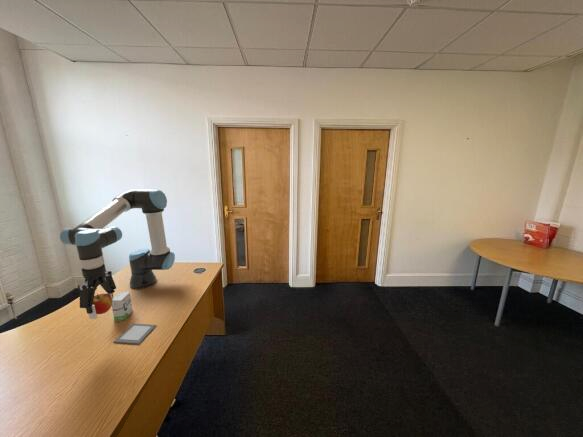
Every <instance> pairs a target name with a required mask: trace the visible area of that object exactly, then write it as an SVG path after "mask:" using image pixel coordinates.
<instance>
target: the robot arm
mask: <svg viewBox="0 0 583 437" xmlns="http://www.w3.org/2000/svg"><path fill="white" fill-rule="evenodd" d="M167 204H168V198H167V196H166V193H164V192H163V191H162V190H160V189H154V188H153V189H150V188H149V189H148V188H147V189H146V188H145V189H142V188H141V189H140V188H139V189H138V188H136V189H135V188H133V189H130V190H127V191H124V192H123V193H120V194H118V195H116V196H115V197H113V199H112V200H111V202H110V203H108V204H107V205H106V206H105V207H103V208H101V209H100V210H98V211H97V212H95V213H94V214H92V216H90V217H89V218H87V219H85V220H84V221H83V222H81V223H80V224H78V225H77V226H76V227H67V228H64V229H63V230H61V232H60V233H59V239H60V242H61V243H63V244H65V245H71V246H76V250H77V254H78V259H79V260H78V261H79V264H80V267H81V273H82V277H83V278H84V283H82V284H79V285H77V288H78V292H79V295H78V296H79V308H80V309H85V310H86V314H88V318H89V319H90V320H97V319H98V314H96V310H95V305H92V304H93V299H94V296H95V295H96V290H97V288H98V287H99V286H100V287H101V288H102V289H103V290H104V291H105V293H104V294H108V295H110V296H111V298H112V306H114V302H113V298H114V293H115V290H116V289H117V286H116V282H115V281H114V277H113V274H112V271H111V270H107V269H106V265H105V259H104V253H103V249H104V248H106V247H108V246H110V245H113V244H115V243H116V242H118V241H120V240H121V239H122V237H123V231H122V230H121V229H120V228H119V227H117V226H108V225H109V224H111V222H113V221H114V220H116V219H117V218H118V217H120V216H121V215H122V214H123V213H125V212H129V211H130V210H131V209H133V210H134V209H141V213H142V214H143V215H145V217H146V224H147V229H148V234H149V236H148V237H149V241H150V246H151V250H150V249H149V248H142V249H138V250H135V251H133V252H131V253H129V255H128V261H129V266H130V272H131V273H130V274H131V276H130V279H129V280H130V281H129V287H130V288H131V289H137V290H138V289H143V288H144V289H145V288H147V287H151V286H152V285H154V284H156V282H157V276H156V275H155V273H154V271H156V270H157V271H166V270H170V269H171V268H172V267H173V265H174V263H175V259H176V257H175V253H174V252H172V251H171V248H170V247H168V246H167V244H168V243H167V238H166V232H165V225H164V221H163V220H164V219H163V212H164V211H165V208H167ZM107 226H108V227H107ZM105 227H106V228H105ZM88 303H89V304H88ZM112 306H111V307H112Z"/></svg>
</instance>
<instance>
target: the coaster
mask: <svg viewBox="0 0 583 437" xmlns="http://www.w3.org/2000/svg"><path fill="white" fill-rule="evenodd" d="M156 327H157V325H156V324H148V323H147V324H146V323H132V324H131V325H130V326H129V327H127V328H126V329H125V331H124V332H122V333H121V334H120V335H119V336H118V337H117V338H116V339H114V341H113V343H115V344H126V345H127V344H128V345H129V344H130V345H140V344H141V343H142V342H143V341H144V340H145V339H146V338H147V337H148V336H149V334H151V333H152V332H153V330H154V329H155V328H156Z"/></svg>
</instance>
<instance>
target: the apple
mask: <svg viewBox="0 0 583 437" xmlns="http://www.w3.org/2000/svg"><path fill="white" fill-rule="evenodd" d="M88 304H89V303H88ZM92 305H95V310H96V315H103V314H105V313H107V312H109V311H110V309H111V308H112V298H111V296H110V295H108V294H105V293H100V294H98V293H96V294H94V299H93V304H92Z"/></svg>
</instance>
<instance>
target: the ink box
mask: <svg viewBox="0 0 583 437" xmlns="http://www.w3.org/2000/svg"><path fill="white" fill-rule="evenodd" d="M131 297H132V296H131V292H130V291H122V292H119V293H118V294H117V295H116V296H114V297H113V302H114V306H111V308H112V315H113V321H114V322H118V321H120V322H121V321H125V320H126V319H127V318H128V317H129V315H130V314H131V313H132V312H133V304H132V298H131Z"/></svg>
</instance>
